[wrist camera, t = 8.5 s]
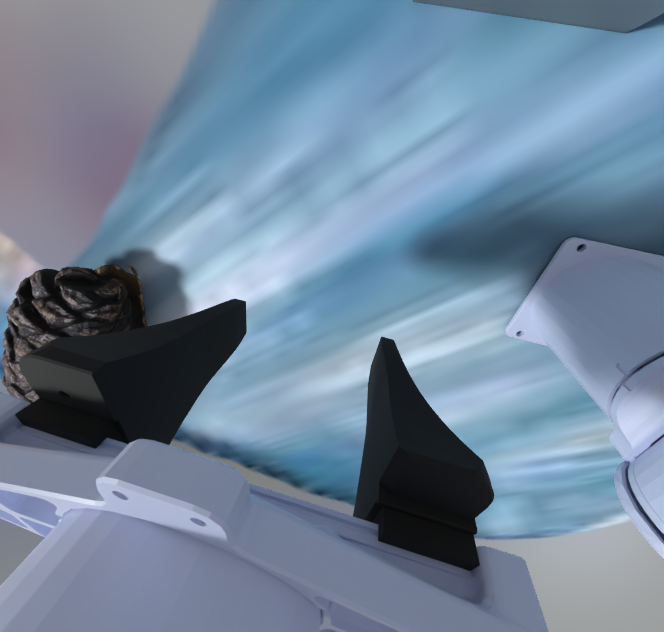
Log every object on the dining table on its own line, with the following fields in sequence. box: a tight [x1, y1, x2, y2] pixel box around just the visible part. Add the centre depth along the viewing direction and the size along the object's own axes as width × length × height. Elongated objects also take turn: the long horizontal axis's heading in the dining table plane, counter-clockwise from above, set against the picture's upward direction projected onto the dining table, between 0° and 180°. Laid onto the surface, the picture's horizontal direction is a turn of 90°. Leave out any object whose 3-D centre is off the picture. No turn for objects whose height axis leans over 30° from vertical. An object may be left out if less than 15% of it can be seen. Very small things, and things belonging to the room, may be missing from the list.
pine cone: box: [2, 265, 146, 404], centre depth 26 cm, size 10×18×10 cm, turn 158°
